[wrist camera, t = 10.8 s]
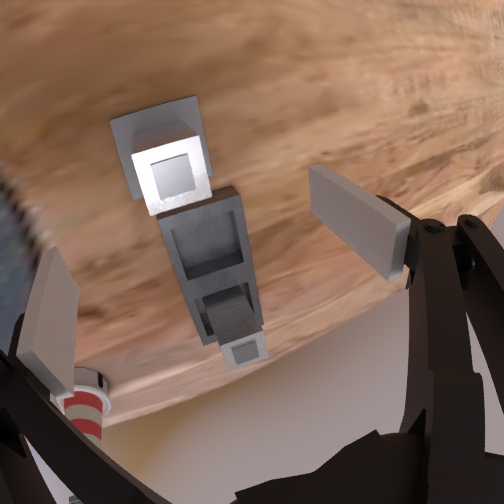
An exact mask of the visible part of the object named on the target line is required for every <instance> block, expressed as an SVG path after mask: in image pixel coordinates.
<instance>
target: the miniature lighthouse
mask: <svg viewBox="0 0 504 504" xmlns="http://www.w3.org/2000/svg"><path fill="white" fill-rule="evenodd" d="M56 400H57V403H58V405H59V407H60V408H61V409H62V410H63V411H65V417H66V418H67V419H68V420H69V421H70V422H71V423H72V424H73V425H74V426H75V427H77V428H78V429H79V430H80V431H81V432H82V433H83V434H84V435H85V436H86V437H87V438H88V439H89V440H90V441H91V442H93V443H94V444H95V445H96V446H97V447H98V448H99V449H100V450H101V429H102V416H104V415H106V414H107V413H108V412H109V411H110V409H111V407H112V401H111V399H110V397H109V396H108V391H107V382H106V381H105V379H104V377H103V376H102V375H101V374H100V373H97V372H96V371H93V370H90V369H87V368H74V396H73V397H69V398H65V399H61V400H58V399H57V398H56ZM69 504H83V503H82V502H81V501H80V500H79V499H78V498H77V497H76V496H75V495H74V496H71V497H69Z"/></svg>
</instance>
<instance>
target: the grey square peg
mask: <svg viewBox="0 0 504 504" xmlns="http://www.w3.org/2000/svg"><path fill="white" fill-rule="evenodd" d="M132 158H133V162H134V165H135V169H136V172H137V175H138V179H139V182H140V185H141V188H142V192H143V195H144V198H145V201H146V204H147V207H148V211H149V214H150V216H152V215H155V214H158V213H161V212H164V211H167V210H171V209H174V208H177V207H180V206H183V205H187V204H190V203H193V202H196V201H200V200H203V199H206V198H210V197H212V193H211V189H210V184H209V179H208V175H207V170H206V166H205V161H204V157H203V152H202V147H201V143H200V138H199V135H198V134H197V133H196V132H195V131H194V130H193V129H191V128H190V127H189V126H188V125H187V124H186V123H185V122H184V121H182V120H181V119H178V120H174V121H171V122H167V123H164V124H160V125H157V126H153V127H150V128H147V129H143V130H140V131H137V132H134V133H133V136H132Z"/></svg>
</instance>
